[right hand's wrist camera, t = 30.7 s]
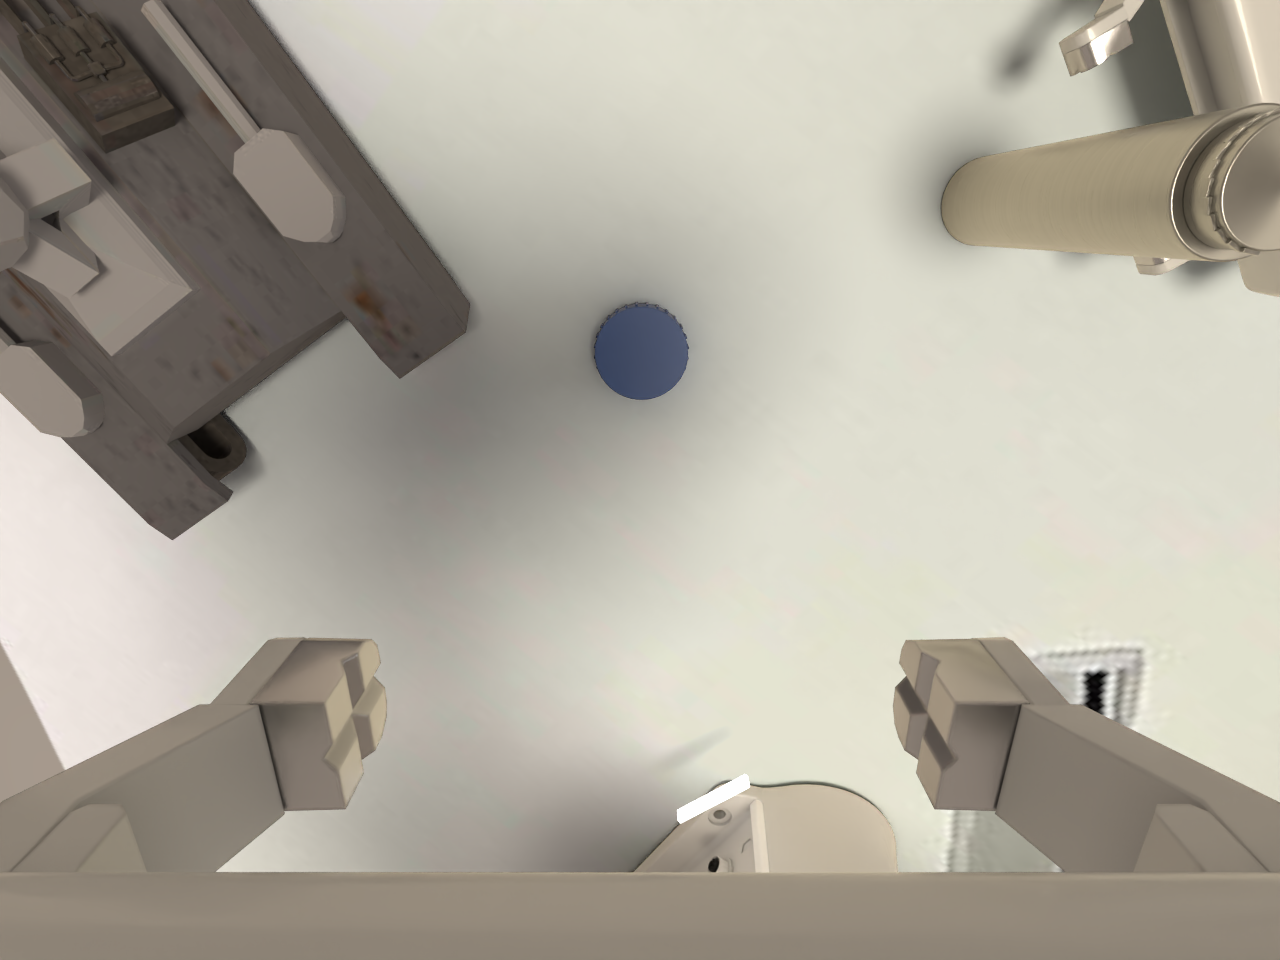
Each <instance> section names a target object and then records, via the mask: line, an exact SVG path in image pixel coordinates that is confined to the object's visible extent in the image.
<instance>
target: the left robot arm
mask: <svg viewBox="0 0 1280 960" xmlns="http://www.w3.org/2000/svg"><path fill="white" fill-rule="evenodd" d="M1159 1H1160V4H1161V7H1162V11H1163V14H1164V17H1165V21H1166V24H1167V27H1168V31H1169V34H1170V37H1171V41H1172V44H1173V47H1174V51H1175V54H1176V57H1177V61H1178V64H1179V67H1180V71H1181V74H1182V77H1183V81H1184V84H1185V87H1186V91H1187V94H1188V97H1189V101H1190V104H1191V107H1192V111H1193V114H1194V115H1200V114H1205V113H1210V112H1215V111H1220V110H1225V109H1230V108H1235V107H1241V106H1246V105H1251V104H1257V103H1278V104H1280V0H1159ZM1143 2H1144V0H1104V1H1103V3H1102V4H1101V6H1100V8H1099V9H1098V11H1097V12H1096V14H1095V19H1094V20H1093V21H1091V22H1089V23H1088V24H1086V25H1085V26H1083V27H1082V28H1080V29H1079V30H1077V31H1075V32H1074V33H1072V34H1071V35H1069V36H1068V37H1066V38H1064V39H1063V40H1062V41H1060V42H1059V45H1060V48H1061V51H1062V54H1063V57H1064V60H1065V62H1066V65H1067V68H1068V71H1069V74H1070V76H1074V75H1076V74H1078V73H1079V72H1081V73H1082V72H1085V71H1087V70H1090V69H1092V68H1093V67H1095V66H1097V65H1099V64H1101V63H1102V62H1104V61H1106V60H1107V59H1108V57H1109V56H1111V55H1113V54H1116V53H1118V52H1120V51H1122V50H1123V49H1125V48H1126V47H1128V46H1130V45H1131V44H1133V43H1134V41H1133V38H1132V34H1131V31H1130V27H1129V24H1128V22H1130V20H1131V19H1132V17H1133V16H1134V15H1135V13H1136V12H1137V10H1138V9H1139V8H1140V6H1141V5H1142V3H1143ZM1133 257H1134V260H1135V263H1136V266H1137V269H1138V272H1139V273H1140V274H1147V275H1159V274H1163V273H1166V272H1169V271H1171V270H1173V269H1175V268H1176V267H1178V266H1180V265H1182V264H1184V263H1186V262H1187V261H1189V260H1184V259H1169V258H1154V257H1139V256H1133ZM1237 261H1238V264H1239V268H1240V271H1241V275H1242V279H1243V282H1244V284H1245V286H1246V287H1247V288H1248V289H1249V290H1251V291H1253V292H1257V293H1262V294H1266V295H1271V296H1277V297H1280V250H1277V251H1261V252H1260V253H1259V255H1258V256H1256V255H1252V256H1249V257H1247V258H1243V259H1240V260H1237Z"/></svg>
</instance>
